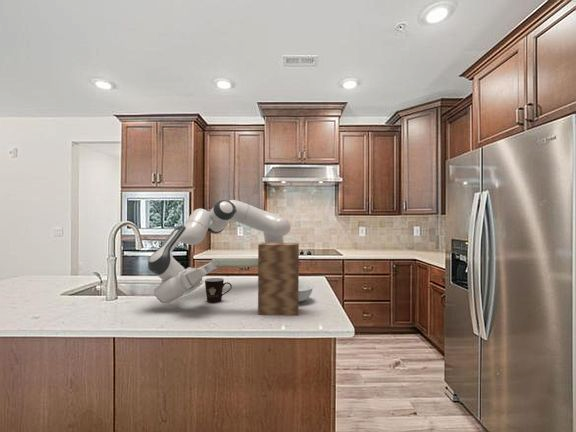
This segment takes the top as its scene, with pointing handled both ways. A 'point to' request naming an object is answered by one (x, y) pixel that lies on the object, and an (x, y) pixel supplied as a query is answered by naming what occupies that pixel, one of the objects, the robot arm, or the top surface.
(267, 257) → the stand
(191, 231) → the robot arm
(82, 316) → the top surface
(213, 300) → the coffee mug
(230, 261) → the pale green bar
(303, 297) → the serving bowl
